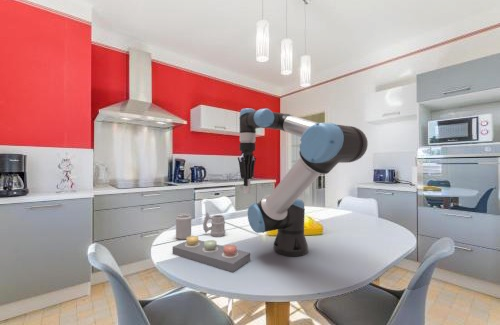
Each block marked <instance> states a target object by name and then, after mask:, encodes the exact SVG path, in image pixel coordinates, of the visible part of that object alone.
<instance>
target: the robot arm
mask: <svg viewBox="0 0 500 325" xmlns="http://www.w3.org/2000/svg"><path fill="white" fill-rule="evenodd" d="M256 129H269V130H280V131H283V132H286V133H289V134H291V135H294V136H297V137H299V138H300V139H299V140H300V143H299V151H298V155H299V158H298V159H297V160H296V161H295V163H294V164H293V165H292V166H291V168H290V169H289V170H288V171H287V173H286V174H285V175H284V176H283V177H282V179H281V181H280V182H279V183H278V184H277V185H276V187H275V188H274V189H273V190H272V191H271V193H270V194H266V195H264V196H263V197H262V198H261V199H260V201H259V202H258V203H255V202H253V203H251V204H249V206H248V209H247V222H248V224H249V225H250V228H251V229H252V230H253V232H255V233H257V234H258V233H259V234H260V233H264V234H265V233H266V232H272V231H276V230H277V231H276V232H277V233H276V235H275V238H274V241H273V251H274V252H275V253H277V254H279V255H282V256H285V257H286V256H287V257H301V256H305V255H307V254H308V252H309V250H308V249H309V245H308V241H307V239H306V236H305V214H306V213H305V210H306V209H305V202H304V200H303V199H300V197H301V196H302V195H303V194H304V193H305V191H306V190H307V189H308V188H309V187H310V186H311V185H312V184H313V183H314V182H315V181H316V180H317V178H319V176H320V175H327V174H329V173H330V172H331V171H332V170H333V169H334V168H335V167H336V166H337V165H338V164H340V163H342V164H343V163H344V164H346V163H347V164H348V163H354V162H356V161H358V160H360V159H361V158H362V157H363V156H364V155H365V154H366V152H367V149H368V145H369V143H368V137H367V136H366V134H365V133H364V132H363V131H362V129H360V128H358V127H356V126H350V125H342V124H336V123H333V122H317V121H314V120H313V121H312V120H309V119H305V118H302V117H298V116H294V115H293V114H289V113H281V112H276V111H272V110H271V109H270V108H260V109H258V110H255V109H253V108H241V110H240V111H239V142H240V143H239V145H238V146H239V149H238V150H239V151H240V152H241V153H240V156H239V157H237V160H238V165H239V174H240V178H241V179H242V180H243V194H251V180H252V179H253V177H254V173H255V168H256V167H255V166H256V162H257V157H254V152H255V151H256V143H255V142H256V141H257V140H256V138H257V137H256V134H257V133H256Z"/></svg>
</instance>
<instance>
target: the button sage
mask: <svg viewBox="0 0 500 325" xmlns="http://www.w3.org/2000/svg"><path fill="white" fill-rule="evenodd" d="M217 245H218V244H217V241H216V240H214V239H209V240H205V242H204V248H205V249H215V248H216V247H217Z"/></svg>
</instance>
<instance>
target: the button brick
mask: <svg viewBox="0 0 500 325" xmlns="http://www.w3.org/2000/svg"><path fill="white" fill-rule="evenodd" d="M223 246H224V254H227V255H233V254H236V253H237V250H238V248H237V245H235V244H227V245H223Z"/></svg>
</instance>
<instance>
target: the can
mask: <svg viewBox="0 0 500 325" xmlns="http://www.w3.org/2000/svg"><path fill="white" fill-rule="evenodd" d="M189 236H192V216H191V214H190V213H187V212H184V213H182V212H181V213H178V214H177V216H176V218H175V238H176V239H178V240H182V241H183V240H187V237H189Z"/></svg>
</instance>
